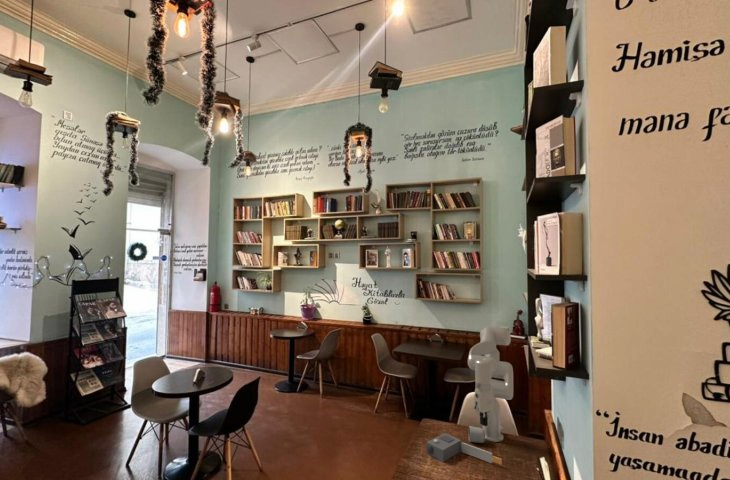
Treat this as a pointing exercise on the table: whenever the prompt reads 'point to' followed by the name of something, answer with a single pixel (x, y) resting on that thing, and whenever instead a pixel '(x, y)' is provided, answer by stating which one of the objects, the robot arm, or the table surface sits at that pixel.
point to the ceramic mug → (476, 434)
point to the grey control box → (443, 447)
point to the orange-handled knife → (479, 453)
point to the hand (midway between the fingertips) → (483, 424)
